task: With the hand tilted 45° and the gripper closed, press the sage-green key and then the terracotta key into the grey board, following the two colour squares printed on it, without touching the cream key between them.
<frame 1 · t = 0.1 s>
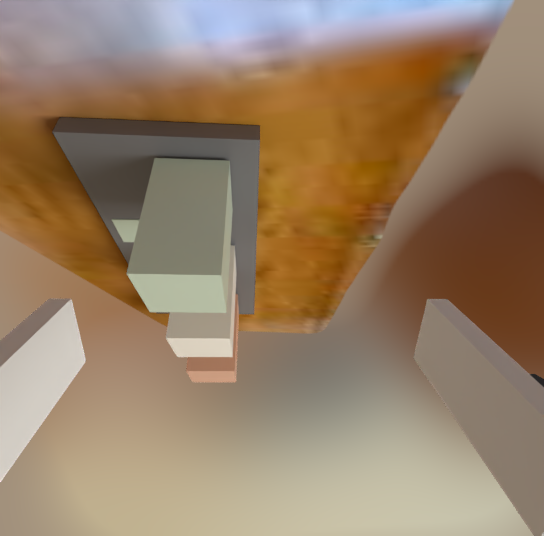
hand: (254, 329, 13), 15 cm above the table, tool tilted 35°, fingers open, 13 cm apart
cream key: (206, 300, 31), point 6 cm above the table, slide at 0.0 cm
grey board: (191, 244, 34), on the table
terracotta key: (215, 337, 40), point 6 cm above the table, slide at 0.0 cm
sage key: (190, 235, 22), point 6 cm above the table, slide at 0.0 cm
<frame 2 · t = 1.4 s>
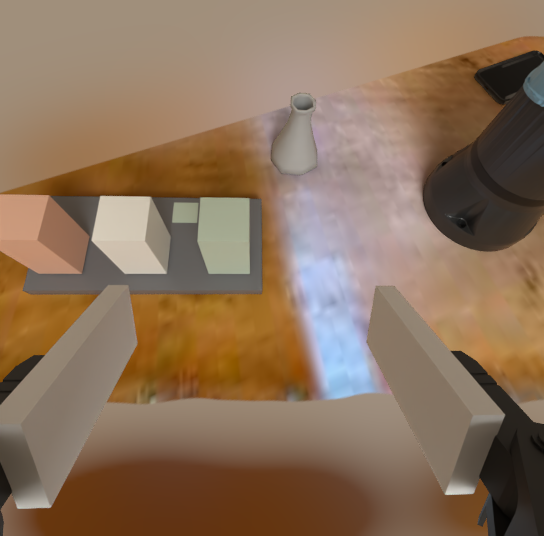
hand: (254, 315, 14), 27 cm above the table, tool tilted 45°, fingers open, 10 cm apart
cream key: (136, 238, 37), point 6 cm above the table, slide at 0.0 cm
grey board: (154, 246, 44), on the table
terracotta key: (43, 237, 37), point 6 cm above the table, slide at 0.0 cm
sage key: (227, 239, 38), point 6 cm above the table, slide at 0.0 cm
phone: (515, 80, 60), on the table
flask: (293, 157, 51), on the table
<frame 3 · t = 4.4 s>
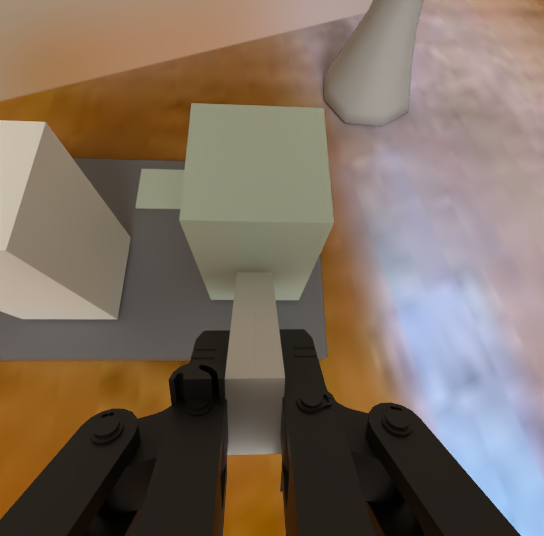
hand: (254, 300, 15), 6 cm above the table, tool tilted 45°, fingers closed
cream key: (31, 241, 15), point 6 cm above the table, slide at 0.0 cm
grey board: (99, 256, 22), on the table
sage key: (256, 222, 16), point 6 cm above the table, slide at 1.1 cm, touching gripper
flask: (363, 98, 28), on the table
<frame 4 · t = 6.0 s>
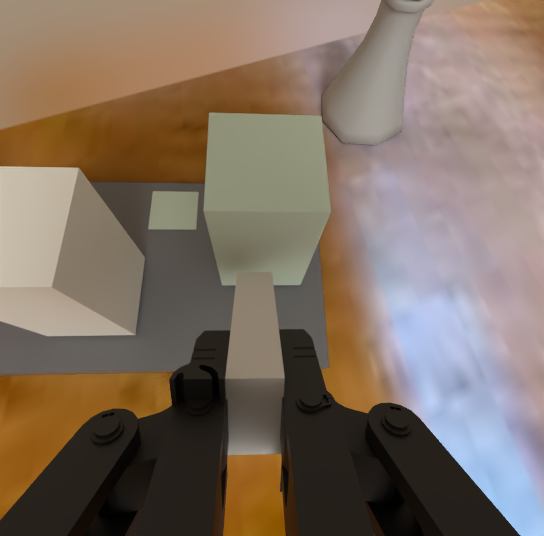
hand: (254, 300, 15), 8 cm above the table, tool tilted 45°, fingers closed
cream key: (60, 267, 16), point 6 cm above the table, slide at 0.0 cm
grey board: (114, 274, 23), on the table
sage key: (263, 215, 18), point 6 cm above the table, slide at 3.1 cm
flask: (359, 117, 30), on the table
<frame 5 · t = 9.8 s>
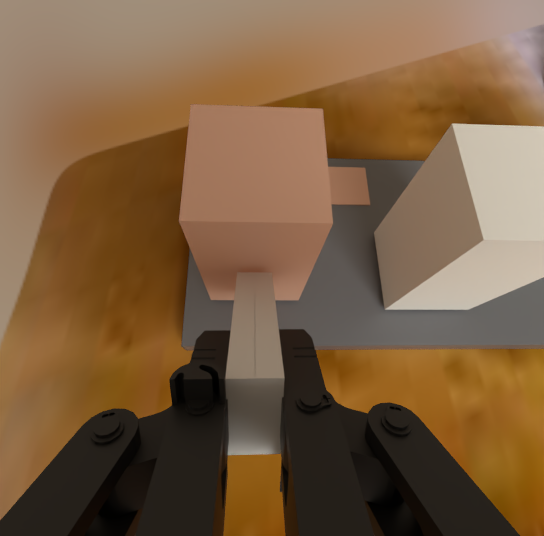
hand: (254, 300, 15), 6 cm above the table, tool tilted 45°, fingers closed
cream key: (461, 235, 16), point 6 cm above the table, slide at 0.0 cm
grey board: (402, 252, 23), on the table
terracotta key: (256, 223, 16), point 6 cm above the table, slide at 0.5 cm, touching gripper
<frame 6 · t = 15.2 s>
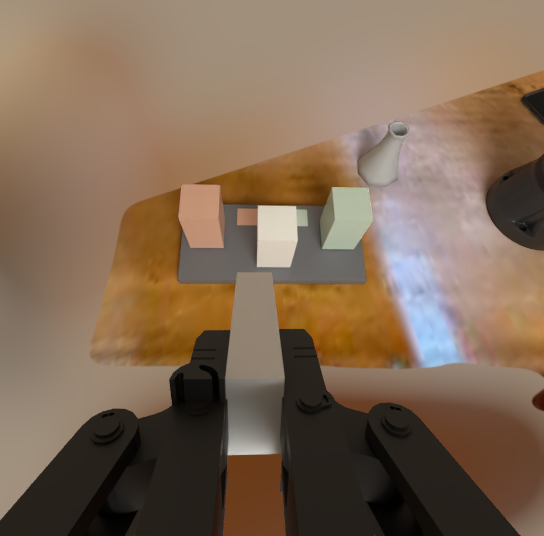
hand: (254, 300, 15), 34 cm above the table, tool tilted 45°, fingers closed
cream key: (275, 238, 47), point 6 cm above the table, slide at 0.0 cm
grey board: (272, 245, 54), on the table
terracotta key: (204, 218, 48), point 6 cm above the table, slide at 3.1 cm
sage key: (343, 220, 49), point 6 cm above the table, slide at 3.1 cm
flask: (376, 171, 61), on the table
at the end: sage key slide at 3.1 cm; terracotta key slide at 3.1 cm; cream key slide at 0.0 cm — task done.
